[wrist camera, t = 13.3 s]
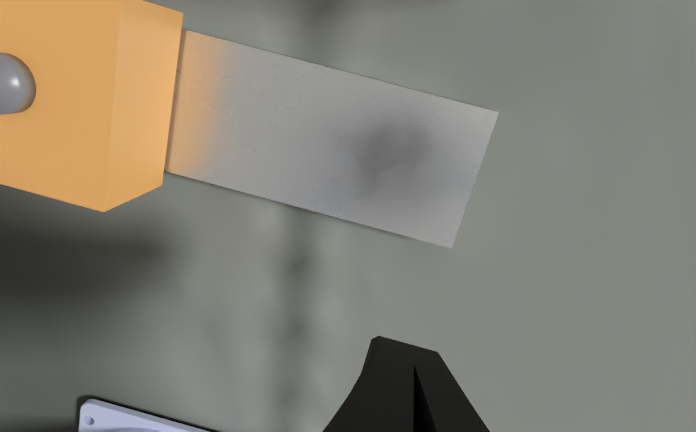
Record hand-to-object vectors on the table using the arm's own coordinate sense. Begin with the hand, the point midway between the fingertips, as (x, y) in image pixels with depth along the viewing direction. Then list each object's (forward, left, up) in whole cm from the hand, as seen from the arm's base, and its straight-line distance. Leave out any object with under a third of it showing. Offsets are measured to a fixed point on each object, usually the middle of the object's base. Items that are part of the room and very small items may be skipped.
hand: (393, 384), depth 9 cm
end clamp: (+3, +13, -8) cm, 15 cm away
